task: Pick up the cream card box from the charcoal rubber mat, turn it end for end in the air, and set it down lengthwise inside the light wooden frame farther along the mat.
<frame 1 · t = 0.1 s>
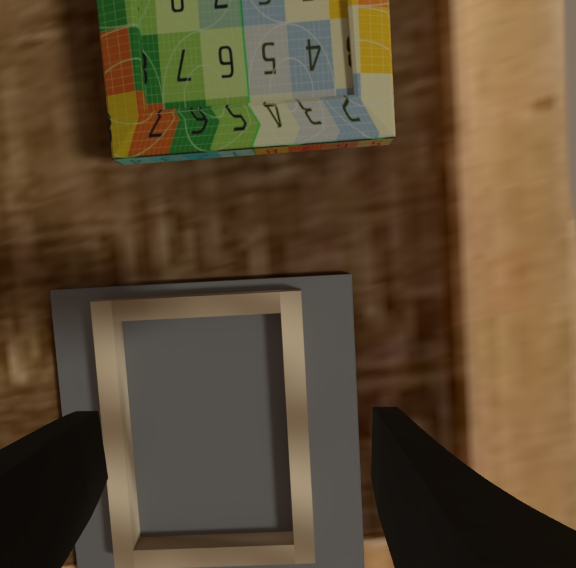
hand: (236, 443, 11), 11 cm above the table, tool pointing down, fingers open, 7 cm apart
mat: (219, 526, 22), on the table
frame: (211, 422, 22), resting on mat
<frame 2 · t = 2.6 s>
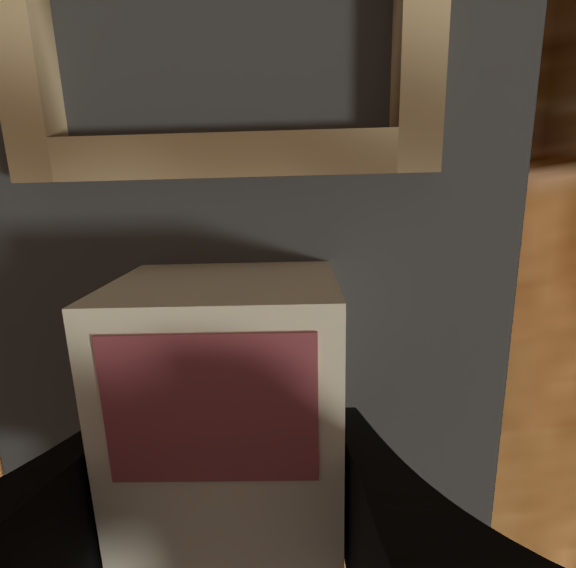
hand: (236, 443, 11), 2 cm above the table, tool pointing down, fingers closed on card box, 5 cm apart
mat: (231, 135, 11), on the table
card box: (243, 414, 12), resting on mat, touching gripper
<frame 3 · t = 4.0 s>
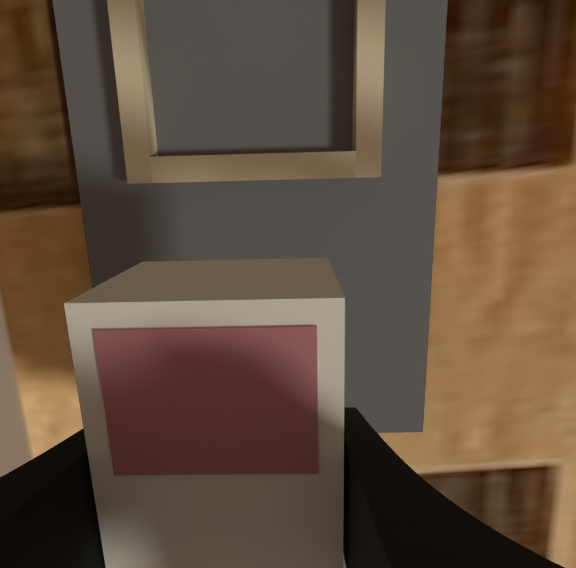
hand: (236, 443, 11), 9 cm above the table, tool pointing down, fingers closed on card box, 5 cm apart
mat: (256, 153, 18), on the table
card box: (243, 410, 12), point 7 cm above the table, touching gripper
frame: (249, 2, 16), resting on mat
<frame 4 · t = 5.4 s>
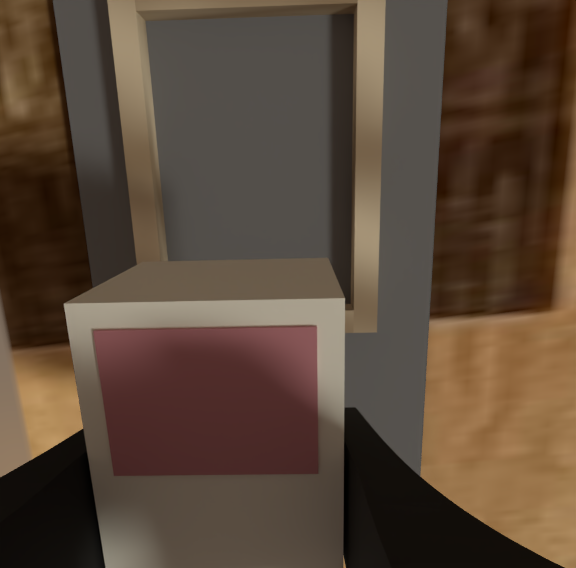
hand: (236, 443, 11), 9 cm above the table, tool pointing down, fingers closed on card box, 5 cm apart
mat: (262, 300, 19), on the table
card box: (243, 410, 12), point 7 cm above the table, touching gripper
frame: (256, 172, 18), resting on mat
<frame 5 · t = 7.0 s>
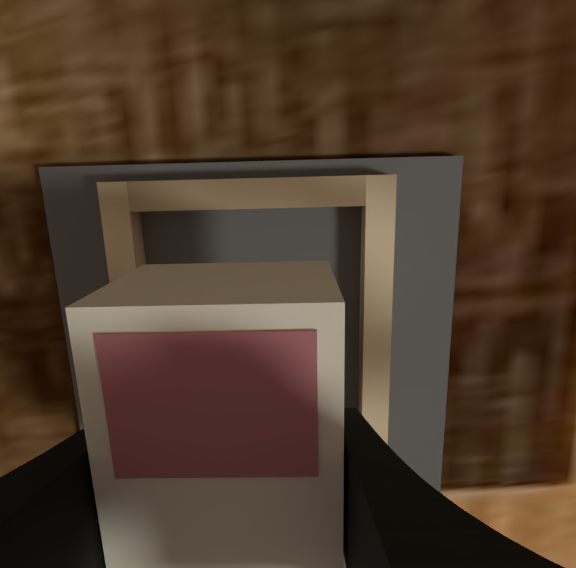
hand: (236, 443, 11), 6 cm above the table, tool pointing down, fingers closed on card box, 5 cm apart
mat: (263, 471, 18), on the table
card box: (243, 412, 12), point 5 cm above the table, touching gripper
frame: (257, 350, 17), resting on mat
when the fingers open (3 cm above the table, at t = 8.4 s): card box drops 1 cm, resting on mat.
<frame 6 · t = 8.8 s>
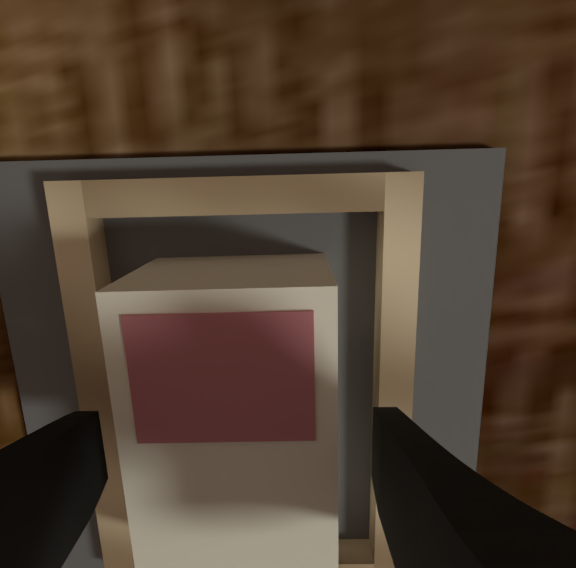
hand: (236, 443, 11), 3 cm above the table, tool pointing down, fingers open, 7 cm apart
mat: (257, 526, 15), on the table
card box: (248, 393, 14), resting on mat
frame: (249, 385, 14), resting on mat
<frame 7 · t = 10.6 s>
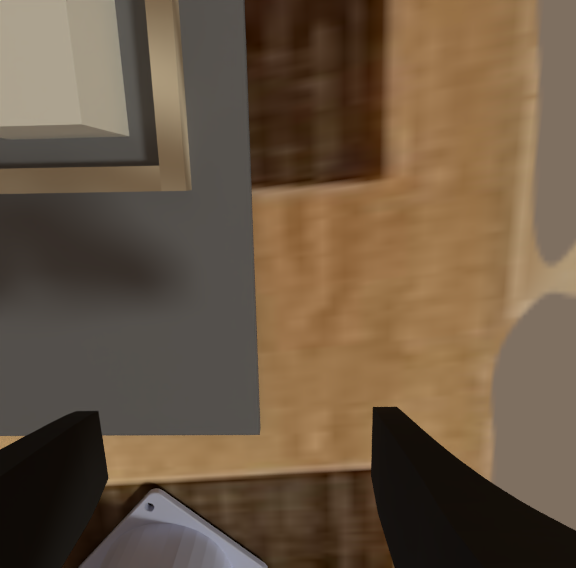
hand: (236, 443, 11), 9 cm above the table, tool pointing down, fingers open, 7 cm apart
mat: (79, 166, 18), on the table
card box: (53, 17, 17), resting on mat
frame: (60, 21, 17), resting on mat
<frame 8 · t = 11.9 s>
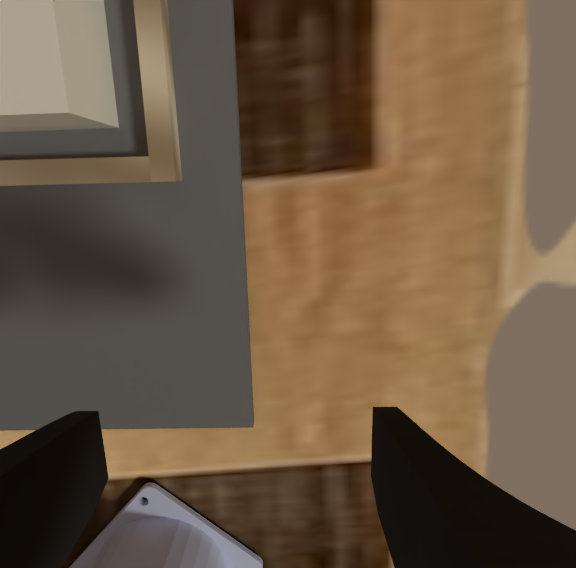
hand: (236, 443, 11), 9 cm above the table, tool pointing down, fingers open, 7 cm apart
mat: (69, 158, 18), on the table
card box: (41, 9, 17), resting on mat
frame: (48, 13, 17), resting on mat
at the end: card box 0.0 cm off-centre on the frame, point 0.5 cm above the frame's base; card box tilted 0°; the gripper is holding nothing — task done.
